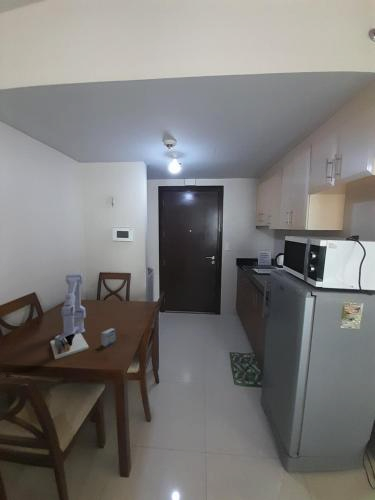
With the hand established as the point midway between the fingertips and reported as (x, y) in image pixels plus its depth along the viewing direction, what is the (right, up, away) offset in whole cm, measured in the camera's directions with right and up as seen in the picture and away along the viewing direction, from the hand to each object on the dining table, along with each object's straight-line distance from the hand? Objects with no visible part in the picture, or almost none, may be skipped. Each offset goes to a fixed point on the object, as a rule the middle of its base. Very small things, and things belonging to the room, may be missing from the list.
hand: (69, 345), depth 133 cm
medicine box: (+21, -2, +8) cm, 23 cm away
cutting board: (-3, -2, +4) cm, 5 cm away
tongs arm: (-5, 0, +1) cm, 5 cm away
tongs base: (-6, -1, 0) cm, 6 cm away
